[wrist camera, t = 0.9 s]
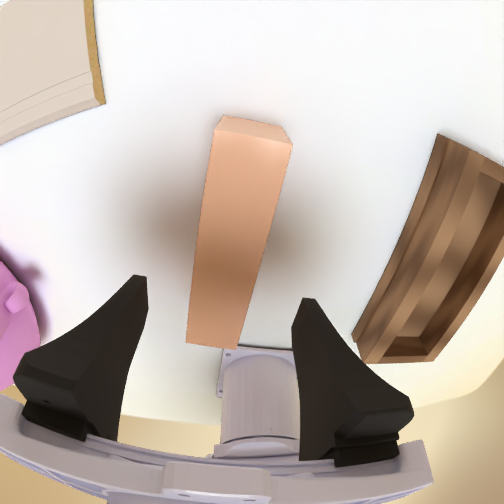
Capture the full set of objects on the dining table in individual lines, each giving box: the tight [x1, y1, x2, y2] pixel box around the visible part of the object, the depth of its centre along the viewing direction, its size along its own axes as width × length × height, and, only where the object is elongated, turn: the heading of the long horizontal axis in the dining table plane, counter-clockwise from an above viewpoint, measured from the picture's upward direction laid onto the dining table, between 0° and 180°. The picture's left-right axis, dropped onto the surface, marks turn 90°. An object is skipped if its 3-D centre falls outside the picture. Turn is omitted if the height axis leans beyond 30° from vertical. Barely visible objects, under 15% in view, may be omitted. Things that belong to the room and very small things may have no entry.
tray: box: [351, 134, 504, 364], centre depth 21 cm, size 19×9×4 cm, turn 170°
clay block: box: [186, 115, 293, 350], centre depth 18 cm, size 14×4×5 cm, turn 168°
